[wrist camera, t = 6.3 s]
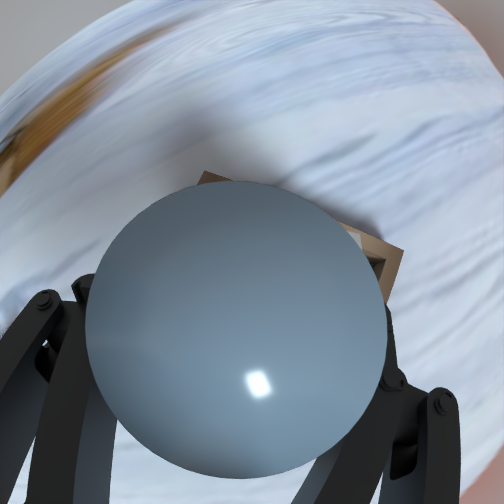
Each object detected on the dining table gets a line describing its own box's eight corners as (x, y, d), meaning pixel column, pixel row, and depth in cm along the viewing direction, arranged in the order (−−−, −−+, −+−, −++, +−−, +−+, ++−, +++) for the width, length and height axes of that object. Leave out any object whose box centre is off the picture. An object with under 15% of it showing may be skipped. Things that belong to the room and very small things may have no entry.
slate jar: (194, 339, 17) (60, 389, 5) (233, 248, 18) (156, 147, 6) (285, 379, 16) (300, 509, 4) (326, 286, 17) (427, 252, 5)
